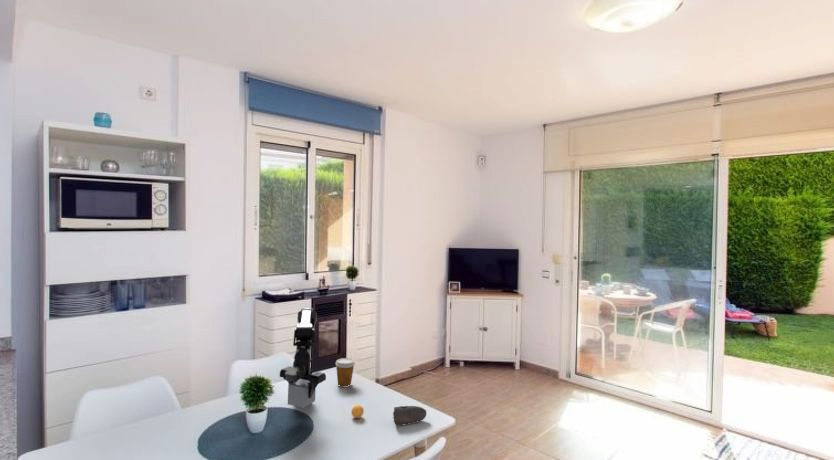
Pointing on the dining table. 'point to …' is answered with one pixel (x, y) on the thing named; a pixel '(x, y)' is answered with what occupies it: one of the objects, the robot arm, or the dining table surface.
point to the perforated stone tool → (408, 414)
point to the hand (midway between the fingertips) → (301, 396)
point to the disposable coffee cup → (344, 371)
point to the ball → (357, 411)
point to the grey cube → (300, 394)
